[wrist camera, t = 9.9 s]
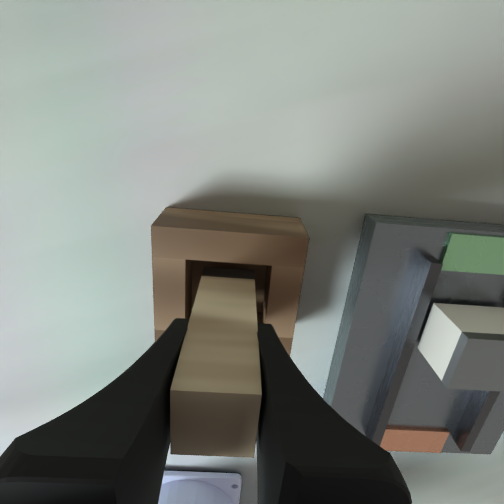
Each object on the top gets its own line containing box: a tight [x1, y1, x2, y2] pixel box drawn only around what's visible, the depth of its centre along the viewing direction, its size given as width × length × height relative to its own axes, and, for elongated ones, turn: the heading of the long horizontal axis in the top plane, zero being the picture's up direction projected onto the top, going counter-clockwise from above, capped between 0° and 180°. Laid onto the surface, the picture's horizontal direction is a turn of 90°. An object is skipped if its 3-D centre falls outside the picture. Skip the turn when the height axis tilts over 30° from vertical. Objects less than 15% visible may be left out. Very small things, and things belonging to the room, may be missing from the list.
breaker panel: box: [323, 214, 504, 454], centre depth 20 cm, size 16×12×2 cm
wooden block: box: [170, 267, 262, 458], centre depth 13 cm, size 2×2×8 cm
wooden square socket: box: [151, 207, 309, 356], centre depth 17 cm, size 7×7×3 cm
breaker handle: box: [418, 303, 504, 392], centre depth 17 cm, size 3×4×3 cm
